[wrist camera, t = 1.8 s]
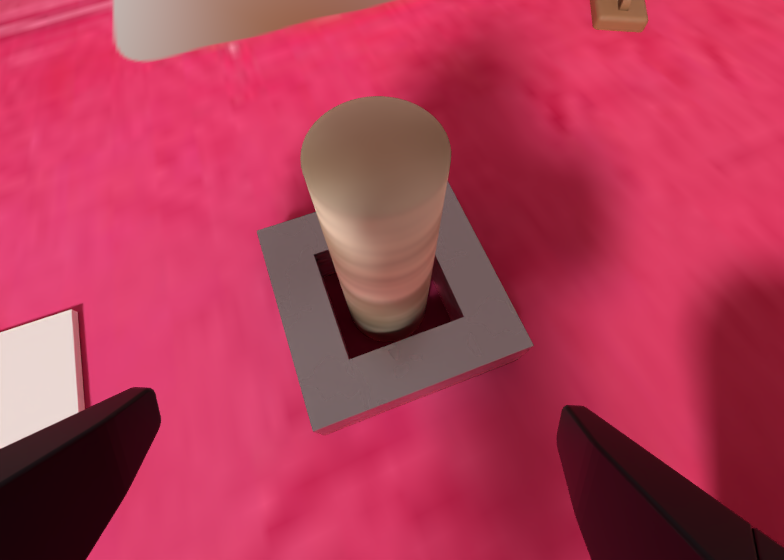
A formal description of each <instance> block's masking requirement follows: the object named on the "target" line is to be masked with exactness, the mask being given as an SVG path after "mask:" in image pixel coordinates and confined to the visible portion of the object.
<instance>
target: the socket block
mask: <svg viewBox="0 0 784 560" xmlns="http://www.w3.org/2000/svg"><path fill="white" fill-rule="evenodd" d="M257 234H258V238H259V241H260V245H261V248H262V252H263V255H264V259H265V262H266V266H267V270H268V273H269V277H270V280H271V284H272V287H273V291H274V294H275V298H276V302H277V305H278V309H279V312H280V316H281V319H282V323H283V327H284V330H285V334H286V337H287V341H288V344H289V348H290V351H291V355H292V359H293V362H294V366H295V369H296V373H297V376H298V380H299V383H300V387H301V391H302V394H303V398H304V401H305V405H306V408H307V412H308V415H309V419H310V423H311V426H312V430H313V432H316V433H319V434H322V435H326V434H329V433H331V432H334V431H337V430H339V429H342V428H344V427H347V426H349V425H352V424H354V423H357V422H360V421H362V420H365V419H367V418H370V417H372V416H375V415H377V414H380V413H382V412H385V411H388V410H390V409H393V408H395V407H398V406H400V405H403V404H405V403H408V402H411V401H413V400H416V399H418V398H421V397H423V396H426V395H428V394H431V393H434V392H436V391H439V390H441V389H444V388H446V387H449V386H451V385H454V384H457V383H459V382H462V381H464V380H467V379H469V378H472V377H474V376H477V375H480V374H482V373H485V372H487V371H490V370H492V369H495V368H497V367H500V366H503V365H505V364H508V363H510V362H513V361H515V360H518V359H519V358H520V357H521V356H522V355H523V354H525V353H526V352H527V351H528V350H529V349H530V348H532V347H533V346H534V345H533V343H532V341H531V339H530V337H529V335H528V334H527V332H526V330H525V328H524V326H523V324H522V322H521V320H520V318H519V316H518V314H517V313H516V311H515V309H514V307H513V305H512V303H511V301H510V299H509V297H508V295H507V293H506V291H505V290H504V288H503V286H502V284H501V282H500V280H499V278H498V276H497V274H496V272H495V270H494V269H493V267H492V265H491V263H490V261H489V259H488V257H487V255H486V253H485V251H484V249H483V247H482V246H481V244H480V242H479V240H478V238H477V236H476V234H475V232H474V230H473V228H472V226H471V225H470V223H469V221H468V219H467V217H466V215H465V213H464V211H463V209H462V207H461V205H460V203H459V202H458V200H457V198H456V196H455V194H454V192H453V190H452V188H451V186H450V184H449V182H448V181H447V187H446V193H445V198H444V204H443V210H442V216H441V222H440V228H439V234H438V240H437V246H436V252H435V258H434V264H433V269H432V275H431V278H432V280H433V283H434V285H435V287H436V289H437V291H438V294H439V296H440V298H441V300H442V302H443V305H444V307H445V309H446V311H447V314H448V316H449V318H450V320H451V322H449V323H446V324H444V325H441V326H438V327H435V328H433V329H430V330H427V331H425V332H422V333H419V334H417V335H414V336H411V337H408V338H406V339H403V340H400V341H398V342H395V343H392V344H390V345H387V346H384V347H382V348H379V349H376V350H373V351H371V352H368V353H365V354H363V355H360V356H357V357H355V358H352V359H350V356H349V353H348V350H347V347H346V344H345V341H344V338H343V335H342V332H341V329H340V326H339V323H338V320H337V317H336V314H335V311H334V308H333V305H332V302H331V299H330V296H329V293H328V290H327V287H326V285H325V282H324V279H323V277H325V276H328V275H331V274H334V273H336V270H335V267H334V264H333V261H332V258H331V255H330V252H329V249H328V246H327V243H326V240H325V237H324V234H323V231H322V228H321V226H320V223H319V220H318V217H317V214H316V212H314V213H311V214H308V215H305V216H301V217H298V218H295V219H292V220H289V221H286V222H283V223H280V224H277V225H273V226H270V227H267V228H264V229H261V230H258V231H257Z"/></svg>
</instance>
